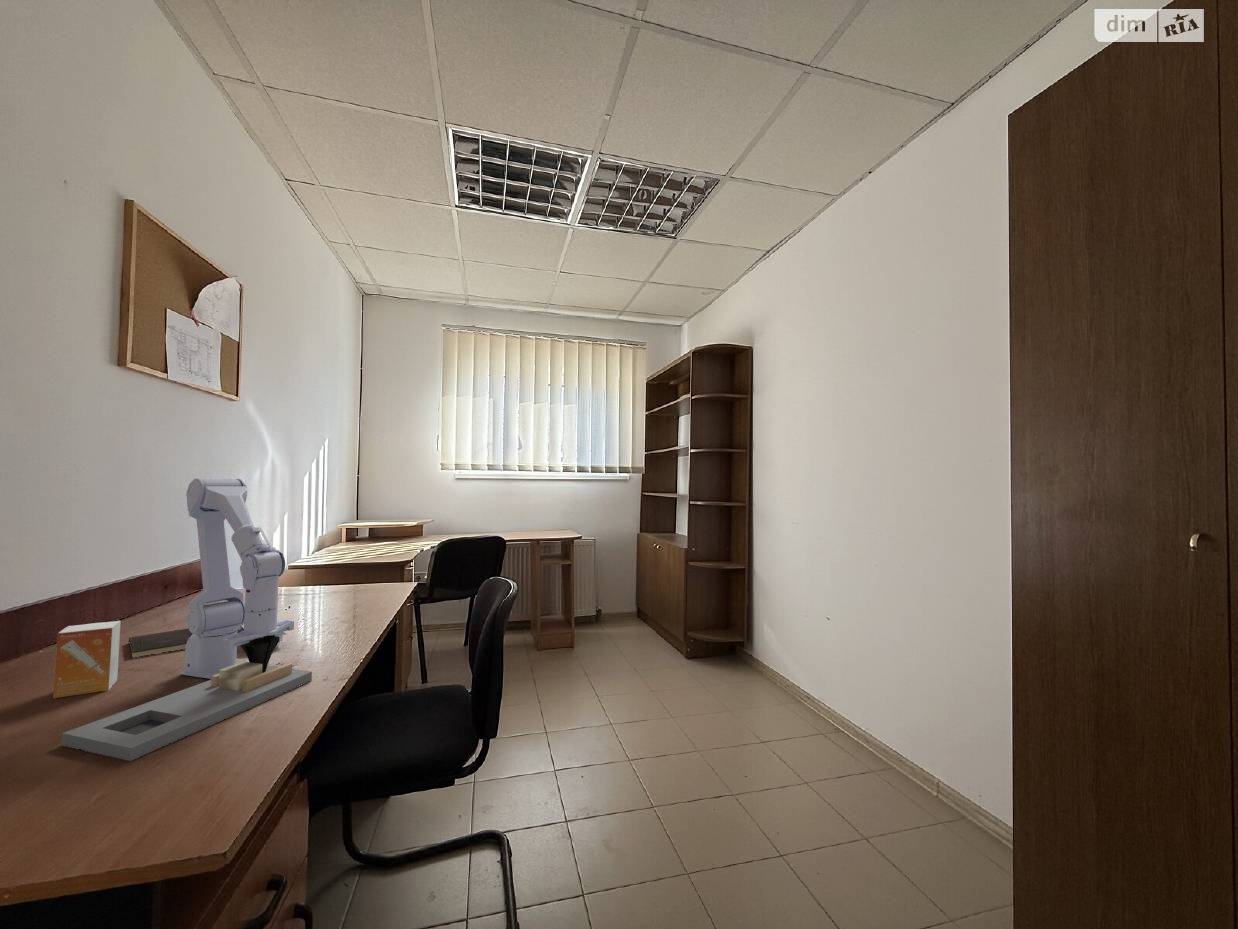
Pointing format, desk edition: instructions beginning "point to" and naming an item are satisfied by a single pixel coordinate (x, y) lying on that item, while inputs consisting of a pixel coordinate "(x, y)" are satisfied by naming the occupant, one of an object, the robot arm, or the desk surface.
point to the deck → (179, 714)
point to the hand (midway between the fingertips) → (258, 673)
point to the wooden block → (238, 675)
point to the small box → (86, 658)
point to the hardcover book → (161, 642)
